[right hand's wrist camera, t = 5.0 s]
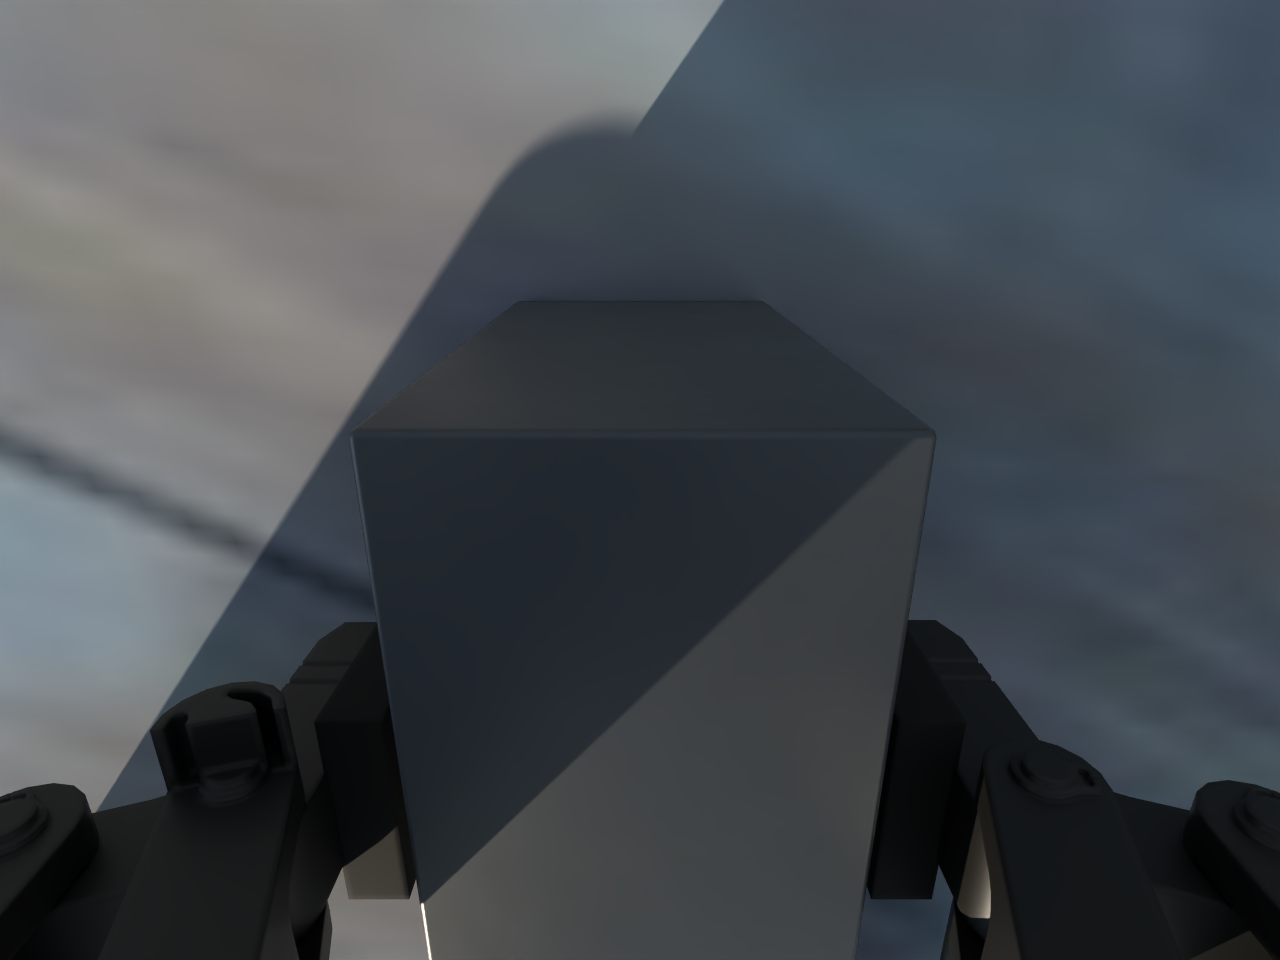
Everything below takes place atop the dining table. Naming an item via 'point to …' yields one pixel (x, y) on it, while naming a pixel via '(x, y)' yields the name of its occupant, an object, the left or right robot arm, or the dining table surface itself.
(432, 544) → the bar
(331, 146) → the dining table surface
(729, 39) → the dining table surface
